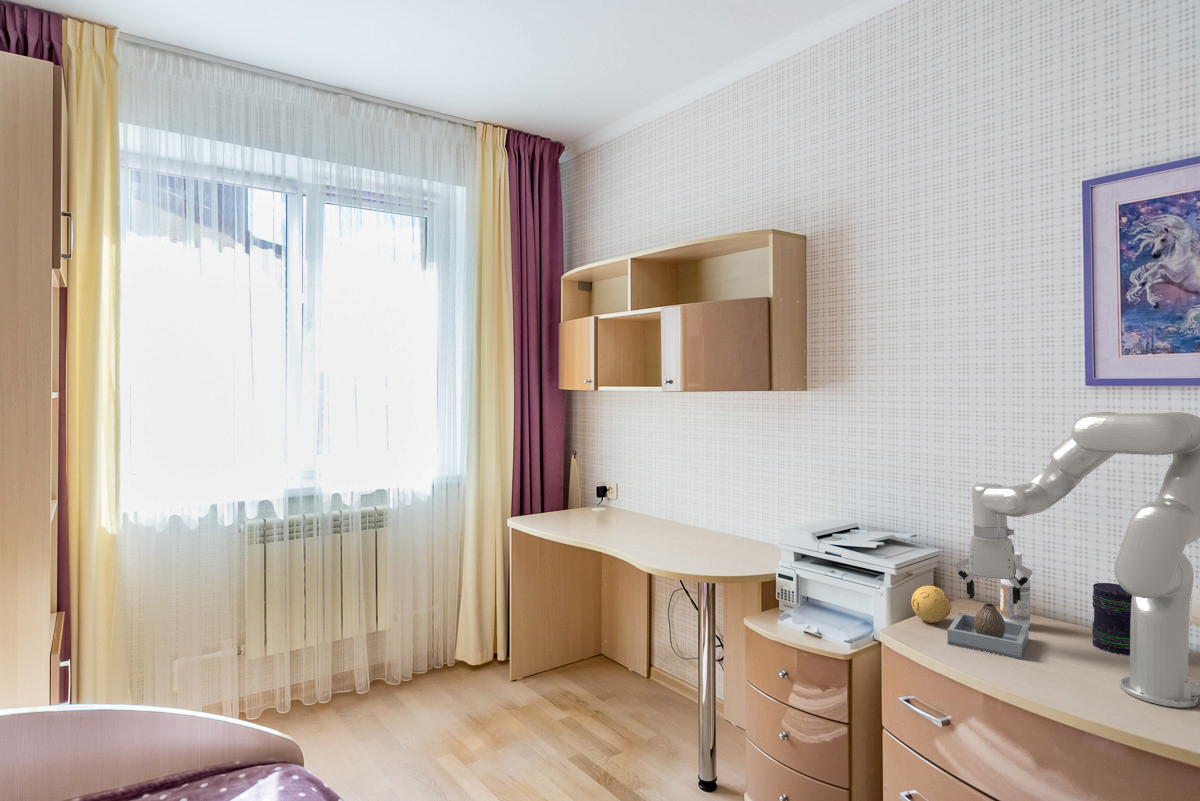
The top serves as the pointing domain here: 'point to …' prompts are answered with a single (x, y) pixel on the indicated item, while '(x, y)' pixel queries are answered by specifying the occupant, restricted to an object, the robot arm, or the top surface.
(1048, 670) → the top surface
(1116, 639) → the storage jar
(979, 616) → the vase
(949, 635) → the bin
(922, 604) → the stress ball
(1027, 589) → the bath foam
